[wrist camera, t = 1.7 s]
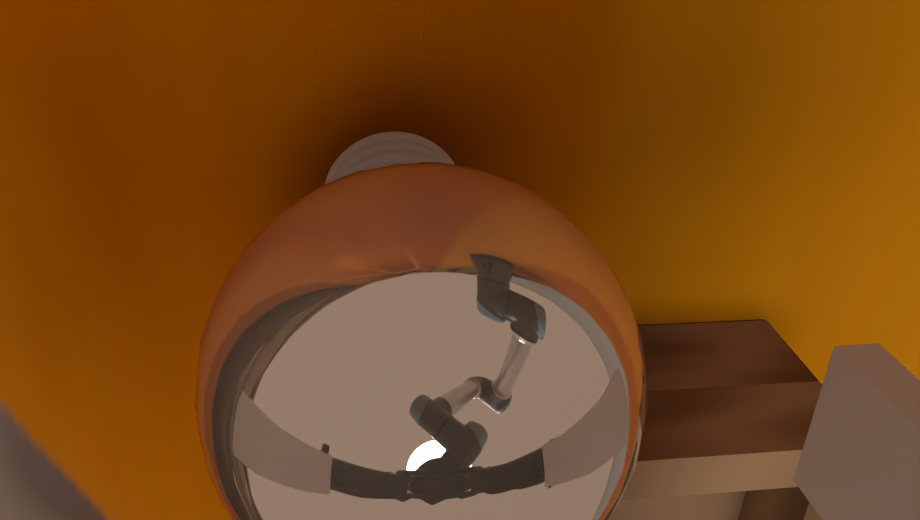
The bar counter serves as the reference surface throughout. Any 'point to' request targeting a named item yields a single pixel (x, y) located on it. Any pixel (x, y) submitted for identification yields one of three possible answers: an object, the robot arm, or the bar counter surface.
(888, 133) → the bar counter surface
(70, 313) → the bar counter surface
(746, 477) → the walnut box
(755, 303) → the bar counter surface
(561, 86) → the bar counter surface
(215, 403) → the light bulb
